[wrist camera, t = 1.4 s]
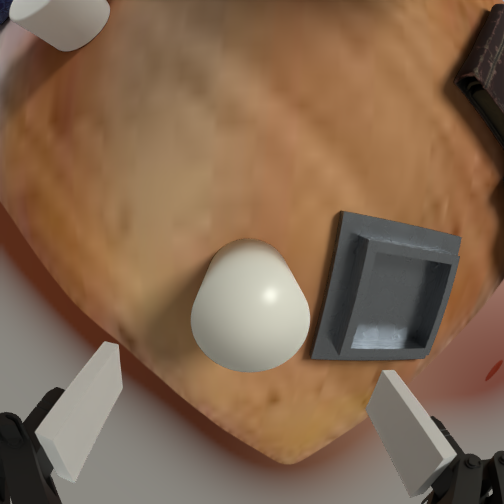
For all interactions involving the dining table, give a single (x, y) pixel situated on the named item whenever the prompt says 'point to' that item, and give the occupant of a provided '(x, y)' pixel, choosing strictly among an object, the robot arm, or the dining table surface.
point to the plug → (249, 308)
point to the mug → (61, 20)
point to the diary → (487, 73)
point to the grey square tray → (384, 290)
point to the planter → (4, 9)
